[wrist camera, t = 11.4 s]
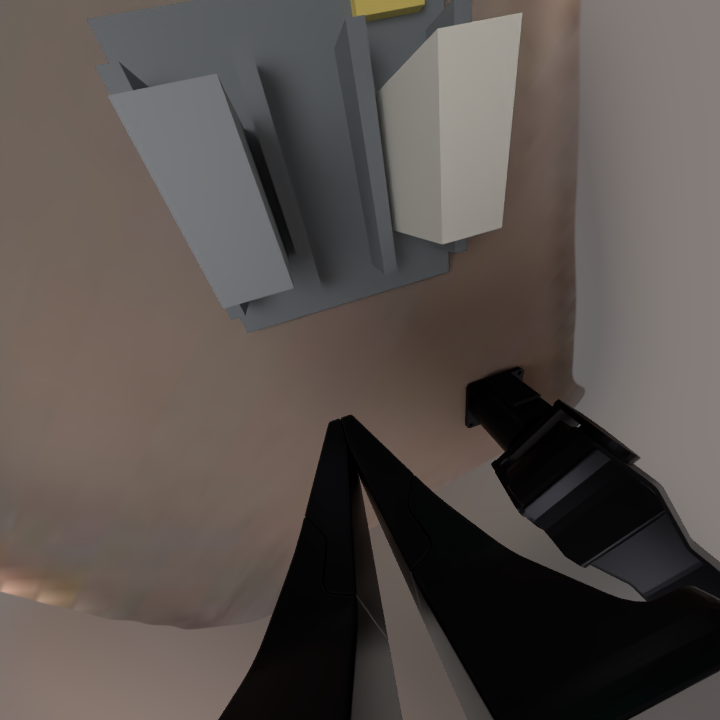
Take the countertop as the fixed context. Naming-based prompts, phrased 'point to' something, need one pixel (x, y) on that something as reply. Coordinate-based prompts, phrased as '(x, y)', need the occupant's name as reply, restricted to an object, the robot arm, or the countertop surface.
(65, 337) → the countertop surface
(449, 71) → the block
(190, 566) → the countertop surface
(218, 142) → the rack
